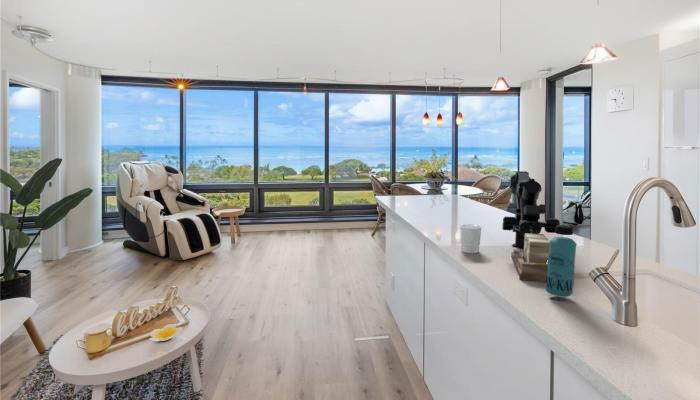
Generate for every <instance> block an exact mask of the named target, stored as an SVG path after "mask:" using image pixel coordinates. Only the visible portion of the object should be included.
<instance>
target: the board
mask: <svg viewBox="0 0 700 400" xmlns="http://www.w3.org/2000/svg"><path fill="white" fill-rule="evenodd" d="M523 253H524V252H522V251H521V252H520V250H519V248H513V251H511V256H510V257H511V260H512V262H513V266H514V267H515V270H516V273H517V276H518V278H519V280H520V281H528V282H529V281H531V282H538V283H539V282H540V283H541V282H542V283H546V278H547V270H548V264H546V263H533V262H532V263H529V262H525V261H524V259H523Z"/></svg>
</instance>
